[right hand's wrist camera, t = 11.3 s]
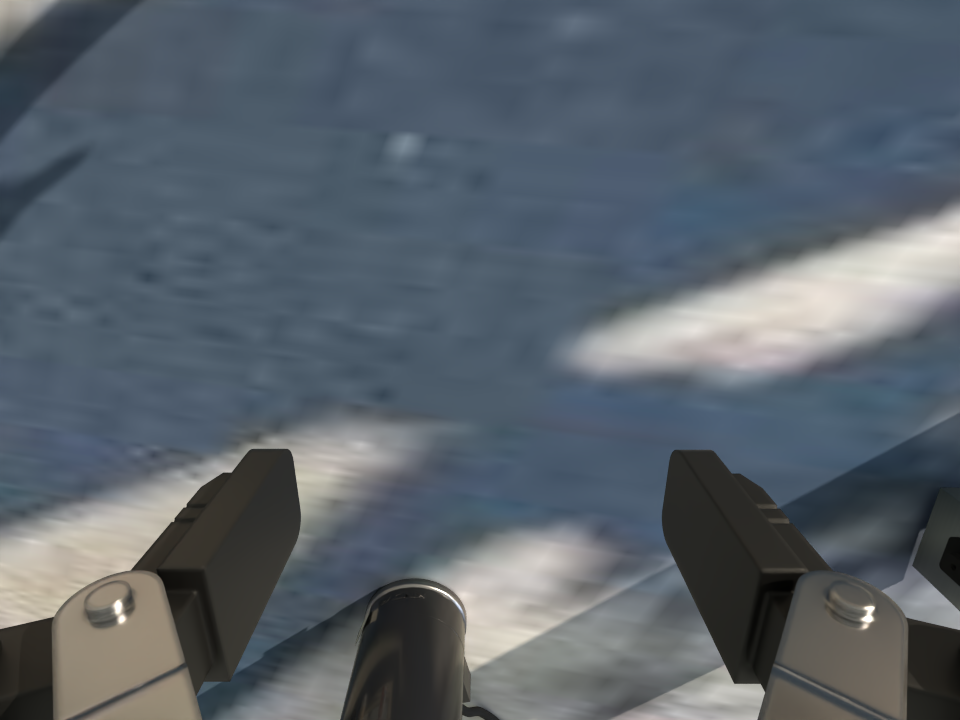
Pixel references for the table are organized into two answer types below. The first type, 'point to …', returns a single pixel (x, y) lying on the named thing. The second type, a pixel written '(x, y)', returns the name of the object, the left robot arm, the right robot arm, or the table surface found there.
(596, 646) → the table surface
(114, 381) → the table surface
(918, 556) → the block
